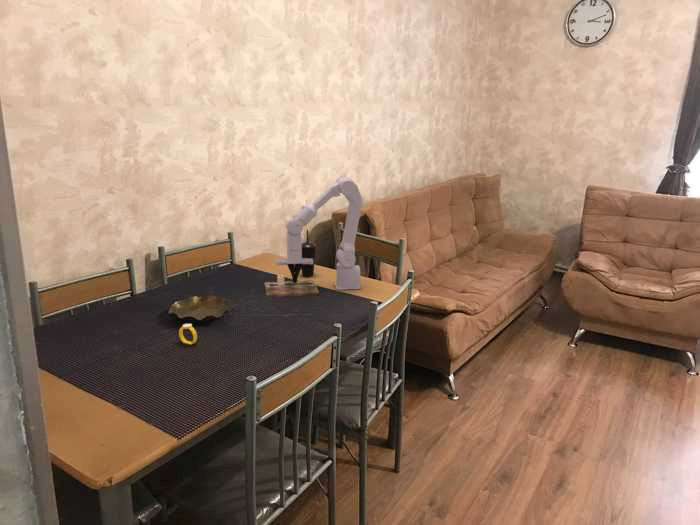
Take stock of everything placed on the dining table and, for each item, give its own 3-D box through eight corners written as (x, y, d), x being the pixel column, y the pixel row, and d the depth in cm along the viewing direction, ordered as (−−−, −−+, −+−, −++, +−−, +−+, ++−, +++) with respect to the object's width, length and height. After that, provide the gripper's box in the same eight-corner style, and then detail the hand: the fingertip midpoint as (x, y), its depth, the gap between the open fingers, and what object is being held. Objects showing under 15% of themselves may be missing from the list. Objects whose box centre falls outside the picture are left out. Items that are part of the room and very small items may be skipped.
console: (313, 282, 228) (313, 277, 228) (319, 294, 213) (319, 289, 213) (264, 284, 224) (264, 279, 224) (266, 297, 209) (266, 291, 209)
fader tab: (284, 285, 220) (284, 274, 219) (285, 288, 216) (285, 277, 215) (276, 286, 219) (276, 275, 218) (277, 289, 215) (277, 278, 214)
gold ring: (178, 344, 167) (175, 325, 166) (184, 340, 170) (182, 322, 168) (193, 346, 165) (191, 327, 163) (199, 343, 167) (197, 324, 166)
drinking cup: (296, 274, 239) (295, 229, 234) (312, 272, 242) (312, 228, 237) (302, 279, 233) (302, 232, 227) (319, 277, 236) (319, 231, 230)
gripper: (311, 245, 220) (311, 278, 223) (274, 247, 217) (275, 280, 220) (313, 250, 213) (314, 283, 217) (276, 251, 210) (277, 285, 214)
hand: (294, 282), depth 218 cm, fingers closed
